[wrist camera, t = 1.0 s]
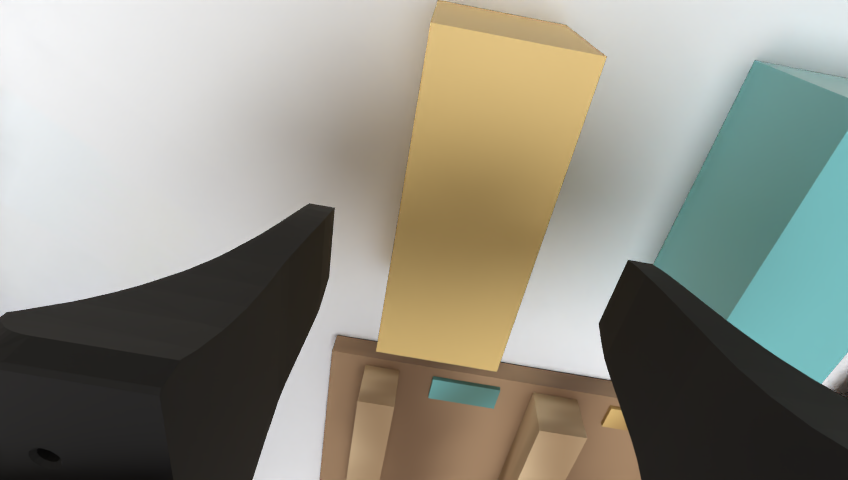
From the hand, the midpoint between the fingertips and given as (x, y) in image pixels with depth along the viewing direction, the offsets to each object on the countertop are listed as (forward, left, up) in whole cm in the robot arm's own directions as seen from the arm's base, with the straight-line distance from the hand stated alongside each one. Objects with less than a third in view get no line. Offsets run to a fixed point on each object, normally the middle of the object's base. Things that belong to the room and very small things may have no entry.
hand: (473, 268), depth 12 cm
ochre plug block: (0, 0, -7) cm, 7 cm away
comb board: (+6, -18, -7) cm, 20 cm away
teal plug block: (+10, 0, -7) cm, 12 cm away
